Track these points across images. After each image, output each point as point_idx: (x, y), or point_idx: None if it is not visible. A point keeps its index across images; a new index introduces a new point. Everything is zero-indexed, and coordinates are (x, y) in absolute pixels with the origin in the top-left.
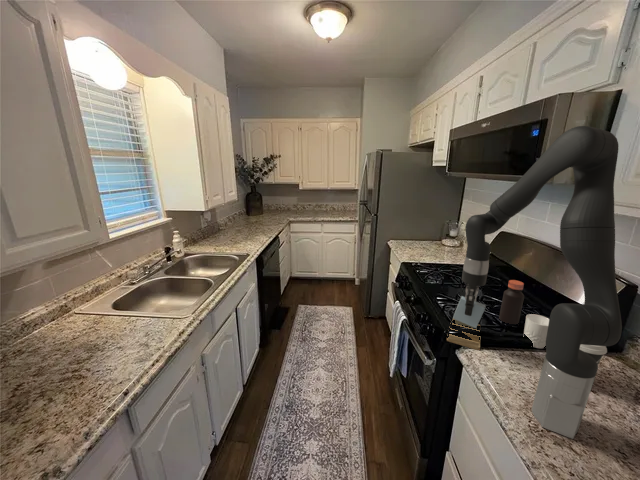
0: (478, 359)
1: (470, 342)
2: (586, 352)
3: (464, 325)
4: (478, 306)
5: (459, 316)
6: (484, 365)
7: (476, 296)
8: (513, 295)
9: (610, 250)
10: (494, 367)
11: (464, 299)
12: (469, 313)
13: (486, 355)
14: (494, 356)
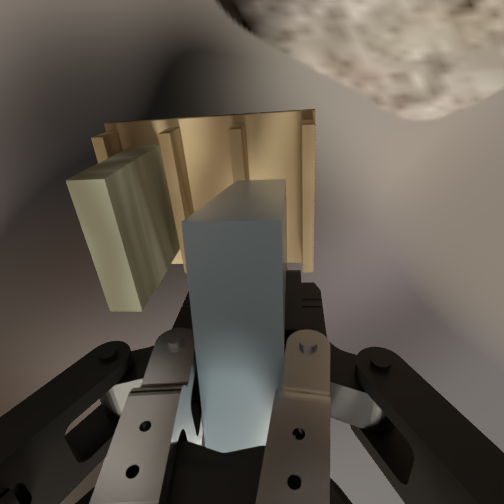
0: (402, 105)
1: (314, 167)
2: None
3: (162, 215)
4: (282, 294)
5: None
6: (446, 69)
7: (329, 486)
8: None
9: None
10: (444, 11)
11: None
12: (320, 300)
13: (340, 67)
14: (327, 21)
